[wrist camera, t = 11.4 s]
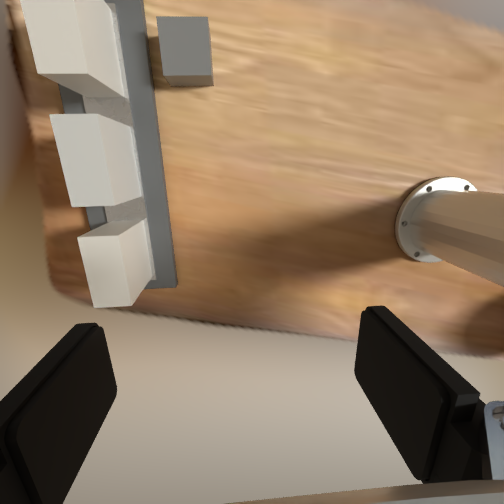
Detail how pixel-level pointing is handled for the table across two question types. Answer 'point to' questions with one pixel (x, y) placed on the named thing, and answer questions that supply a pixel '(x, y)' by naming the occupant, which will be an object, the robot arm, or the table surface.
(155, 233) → the rail board
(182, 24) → the block
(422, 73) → the table surface
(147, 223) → the metal rail
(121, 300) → the mounted modules
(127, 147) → the block
